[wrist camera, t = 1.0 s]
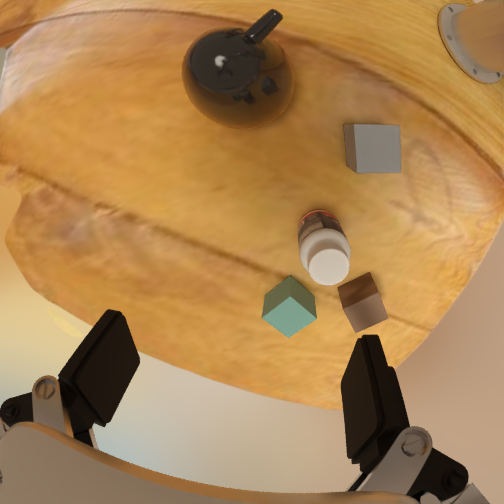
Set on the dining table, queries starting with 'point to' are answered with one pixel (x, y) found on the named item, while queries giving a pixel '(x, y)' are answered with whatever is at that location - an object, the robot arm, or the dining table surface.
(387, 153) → the slate-grey block
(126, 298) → the dining table surface
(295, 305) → the teal block
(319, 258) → the pill bottle
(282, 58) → the pump dispenser
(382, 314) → the walnut block
